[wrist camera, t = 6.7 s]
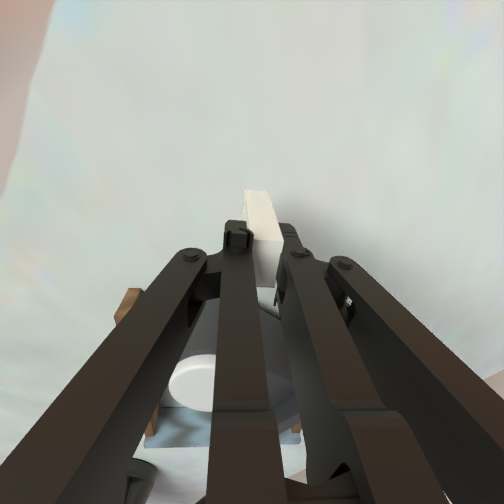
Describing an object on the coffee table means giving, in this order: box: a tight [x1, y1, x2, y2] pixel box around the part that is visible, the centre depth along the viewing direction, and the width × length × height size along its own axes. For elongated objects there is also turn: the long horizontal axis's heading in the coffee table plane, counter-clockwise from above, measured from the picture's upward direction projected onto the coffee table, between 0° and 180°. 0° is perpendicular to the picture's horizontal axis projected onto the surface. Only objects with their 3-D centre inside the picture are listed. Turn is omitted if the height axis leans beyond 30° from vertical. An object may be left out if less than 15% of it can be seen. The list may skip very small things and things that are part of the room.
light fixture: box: [168, 298, 301, 434], centre depth 26 cm, size 11×13×11 cm
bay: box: [114, 288, 302, 448], centre depth 33 cm, size 23×26×5 cm
